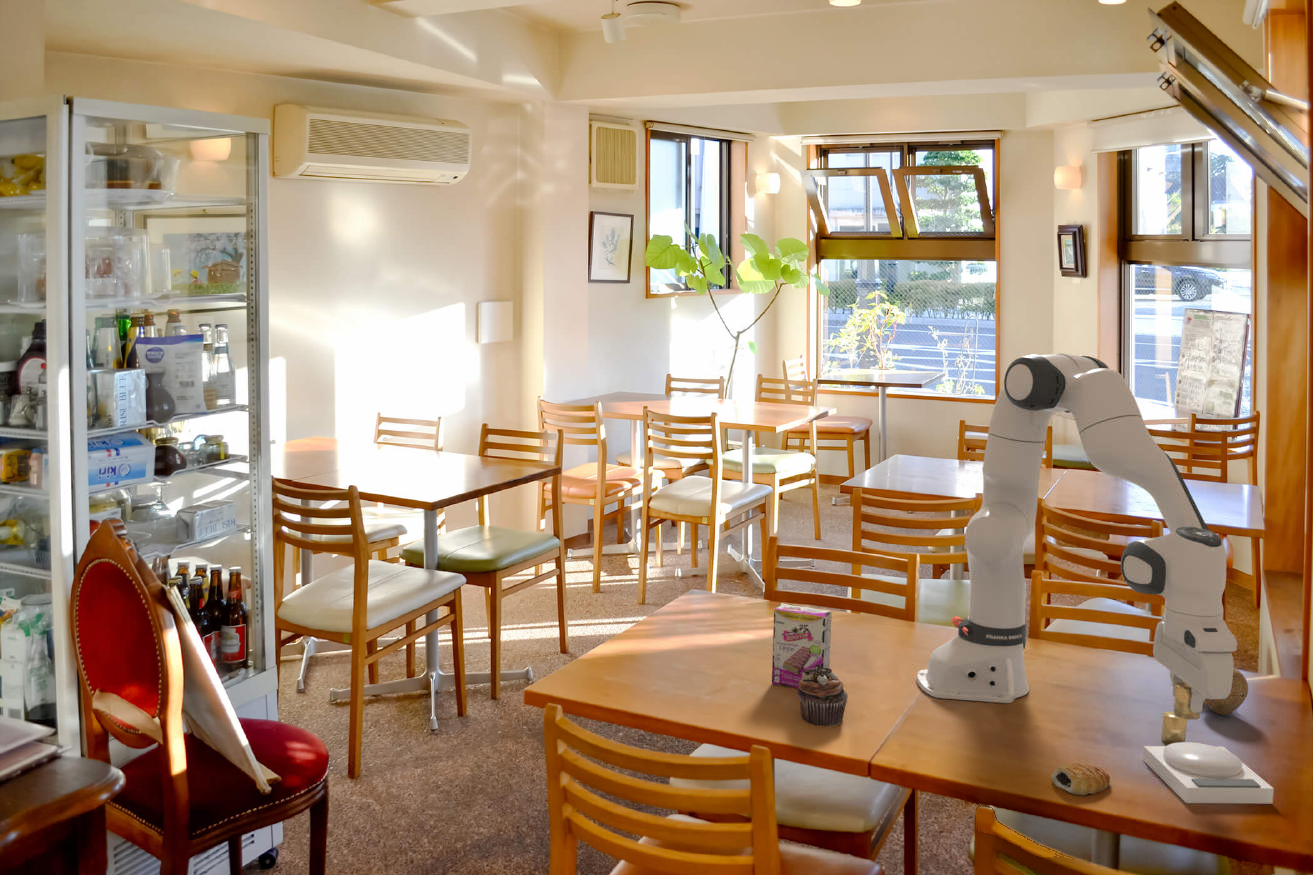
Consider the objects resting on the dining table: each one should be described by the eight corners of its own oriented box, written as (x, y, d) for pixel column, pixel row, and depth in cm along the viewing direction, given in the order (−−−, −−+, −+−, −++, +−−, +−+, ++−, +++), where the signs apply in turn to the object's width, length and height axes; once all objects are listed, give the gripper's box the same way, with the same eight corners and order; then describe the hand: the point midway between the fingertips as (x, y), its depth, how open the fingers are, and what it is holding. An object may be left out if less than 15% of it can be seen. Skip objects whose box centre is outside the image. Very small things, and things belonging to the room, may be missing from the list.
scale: (1185, 802, 179) (1187, 781, 178) (1142, 760, 194) (1144, 740, 194) (1272, 803, 179) (1274, 782, 178) (1222, 760, 194) (1224, 741, 194)
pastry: (1091, 773, 189) (1092, 752, 189) (1120, 790, 183) (1122, 769, 183) (1047, 782, 186) (1048, 761, 185) (1075, 800, 180) (1077, 778, 179)
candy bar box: (770, 684, 229) (772, 608, 227) (778, 677, 234) (780, 602, 231) (823, 693, 224) (825, 616, 222) (829, 685, 229) (832, 609, 227)
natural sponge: (1222, 726, 209) (1226, 676, 208) (1183, 709, 217) (1187, 661, 216) (1255, 719, 213) (1260, 669, 211) (1216, 702, 221) (1220, 654, 220)
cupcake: (835, 731, 206) (837, 680, 204) (788, 720, 211) (789, 670, 209) (855, 714, 214) (856, 665, 212) (809, 704, 219) (810, 656, 217)
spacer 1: (1167, 746, 200) (1169, 720, 200) (1157, 737, 204) (1159, 711, 204) (1189, 746, 200) (1191, 720, 200) (1178, 737, 204) (1180, 711, 204)
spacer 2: (1204, 719, 184) (1206, 690, 184) (1180, 719, 184) (1182, 690, 184) (1192, 710, 188) (1194, 682, 188) (1169, 710, 188) (1171, 682, 188)
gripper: (1146, 607, 194) (1141, 682, 196) (1203, 645, 174) (1197, 728, 176) (1181, 607, 194) (1176, 682, 196) (1243, 645, 174) (1236, 728, 176)
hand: (1187, 704), depth 186 cm, fingers closed on spacer 2, 4 cm apart
